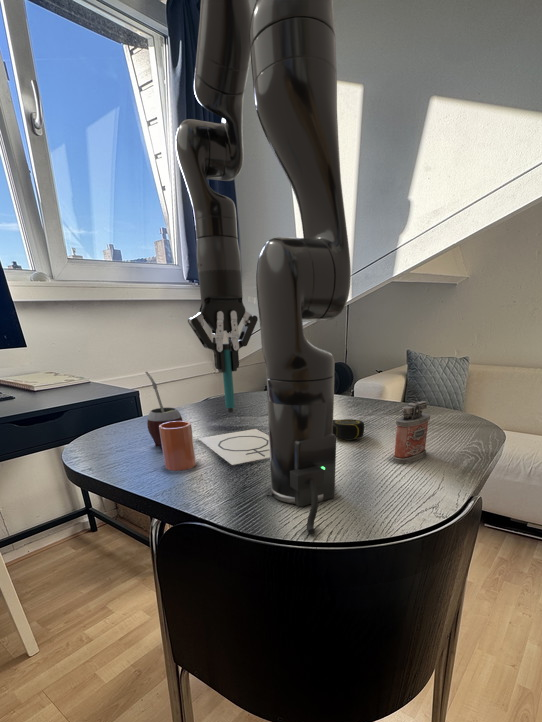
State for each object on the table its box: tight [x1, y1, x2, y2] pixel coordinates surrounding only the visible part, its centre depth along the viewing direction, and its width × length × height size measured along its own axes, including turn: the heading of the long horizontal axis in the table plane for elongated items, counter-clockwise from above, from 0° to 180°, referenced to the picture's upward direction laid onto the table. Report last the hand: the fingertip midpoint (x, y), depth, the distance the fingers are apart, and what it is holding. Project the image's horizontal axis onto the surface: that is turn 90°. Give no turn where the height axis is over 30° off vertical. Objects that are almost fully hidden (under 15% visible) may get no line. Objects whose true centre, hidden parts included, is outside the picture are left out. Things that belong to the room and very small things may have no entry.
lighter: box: [392, 400, 431, 464], centre depth 74 cm, size 8×3×10 cm, turn 129°
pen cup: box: [159, 420, 197, 472], centre depth 73 cm, size 5×5×8 cm
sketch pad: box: [197, 428, 270, 466], centre depth 85 cm, size 20×14×1 cm
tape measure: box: [333, 418, 365, 441], centre depth 87 cm, size 7×7×4 cm
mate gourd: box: [145, 371, 184, 452], centre depth 83 cm, size 8×8×15 cm
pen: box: [222, 342, 236, 414], centre depth 80 cm, size 2×2×13 cm
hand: (227, 371), depth 79 cm, fingers closed on pen, 2 cm apart
